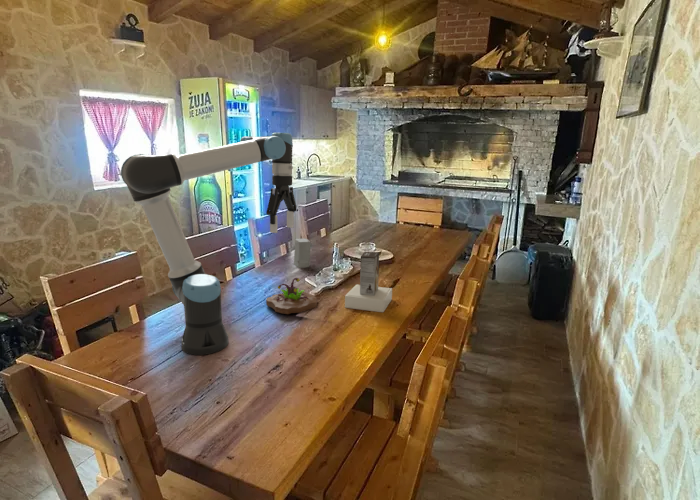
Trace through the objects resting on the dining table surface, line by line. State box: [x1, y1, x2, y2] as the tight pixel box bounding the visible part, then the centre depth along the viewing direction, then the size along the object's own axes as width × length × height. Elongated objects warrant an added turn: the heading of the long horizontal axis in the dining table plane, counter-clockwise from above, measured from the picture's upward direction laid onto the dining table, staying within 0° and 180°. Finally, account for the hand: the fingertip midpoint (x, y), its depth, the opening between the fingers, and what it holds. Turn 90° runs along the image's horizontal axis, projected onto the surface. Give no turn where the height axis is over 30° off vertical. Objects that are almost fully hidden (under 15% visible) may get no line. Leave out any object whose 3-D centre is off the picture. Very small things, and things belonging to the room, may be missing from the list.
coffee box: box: [359, 251, 380, 295], centre depth 173 cm, size 9×6×16 cm
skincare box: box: [293, 237, 312, 269], centre depth 226 cm, size 8×7×16 cm
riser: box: [344, 283, 393, 313], centre depth 176 cm, size 16×16×5 cm
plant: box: [265, 277, 318, 315], centre depth 173 cm, size 20×20×11 cm
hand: (282, 230), depth 165 cm, fingers open, 13 cm apart
